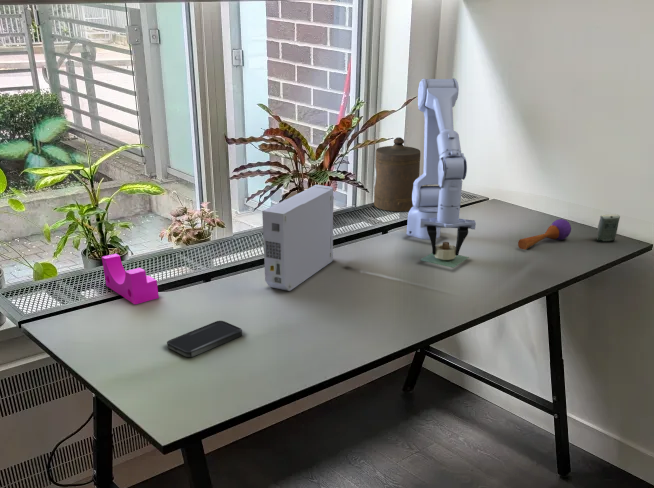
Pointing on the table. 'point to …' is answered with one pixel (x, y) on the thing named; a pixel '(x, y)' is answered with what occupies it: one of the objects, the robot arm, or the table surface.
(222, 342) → the phone
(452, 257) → the tape roll
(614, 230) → the grey upright rounded block
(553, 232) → the maraca
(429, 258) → the tape stand
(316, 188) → the game console
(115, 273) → the toy block
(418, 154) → the wooden container
